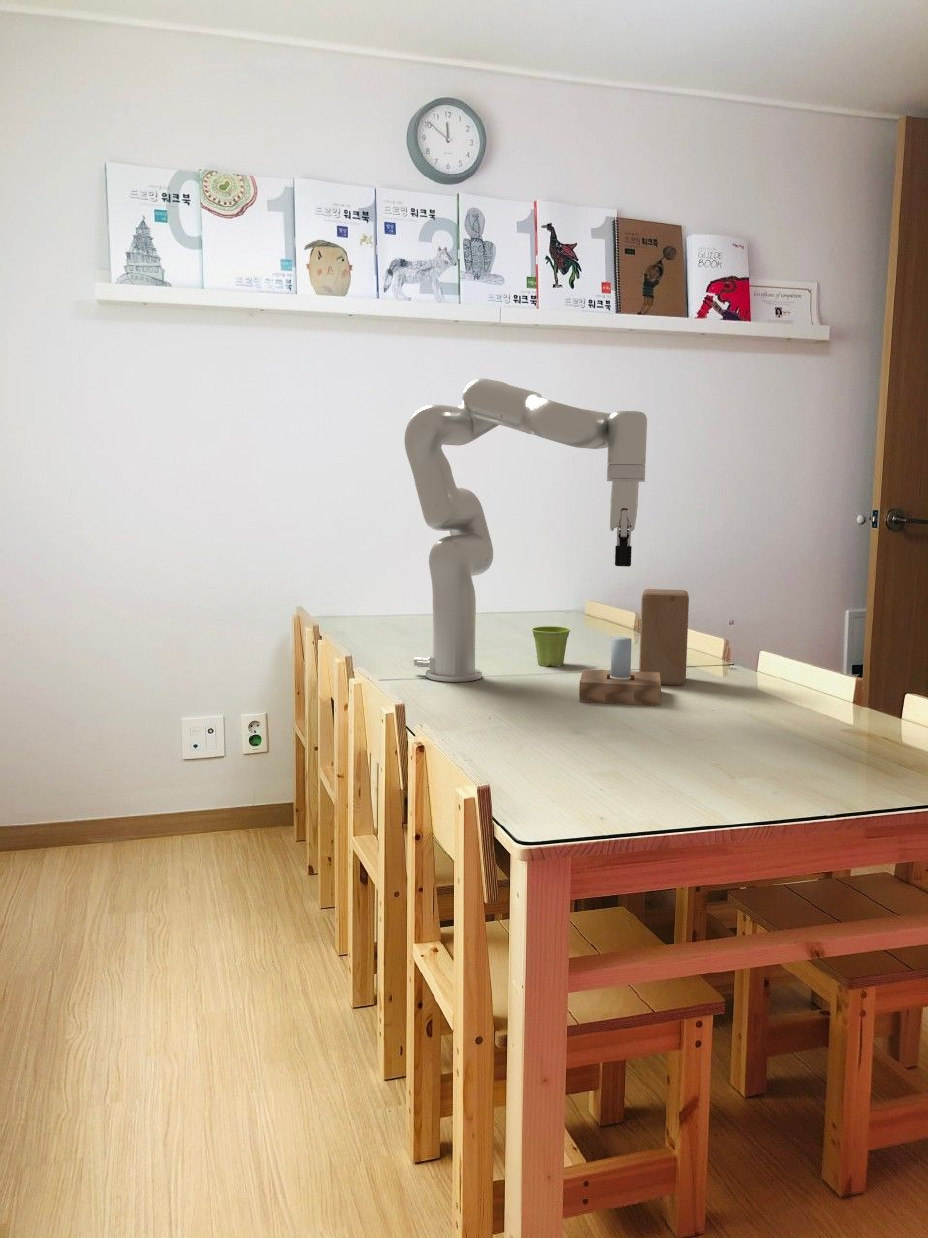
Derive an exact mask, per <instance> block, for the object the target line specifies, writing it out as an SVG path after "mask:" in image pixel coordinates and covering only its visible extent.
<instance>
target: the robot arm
mask: <svg viewBox="0 0 928 1238" xmlns="http://www.w3.org/2000/svg"><path fill="white" fill-rule="evenodd" d="M461 398H462V400H461V401H462V404H461V405H459V406H452V405H444V404H430V405H426V406H422V407H421V408H420V409H418V410H416V411H415V412H414V414H413V415H412V416H411V418H410V419H409V421H408V423H407V424H406V427H405V428H406V429H405V430H404V431H405V432H404V439H403V440H404V441H403V442H404V450H405V453H406V456H407V459H408V463H409V465H410V469H411V472H412V476H413V480H414V485H415V488H416V492H417V496H418V500H419V504H420V507H421V512H422V515H423V519H424V521H425V523H426V524H427V526H428V527H429V528H430V529H432V530H434V531H438V532H446V531H447V532H448V531H449V534H450V535H448V536H444V537H441V538H440V539H438V540H437V541H436V542H435V543H434V544H433V546H432V548H431V549H430V552H429V556H428V565H429V566H428V567H429V572H430V573H429V574H430V578H431V586H432V589H431V590H432V655H431V656H428V657H427V658H424V657H414V659H413V665H414V667H417V668H427V670H426V671H425V678H427V679H429V680H433V681H438V682H446V683H447V682H449V683H450V682H451V683H460V682H470V681H471V682H473V681H476V680H480V679H482V677H483V671H481V670H480V669H478V668H476V621H477V620H476V618H477V617H476V609H477V608H476V603H477V602H476V599H477V598H476V589H475V585H474V583H473V578H472V577H474V576H479V575H482V574H484V573H485V572H486V571H488V570H489V569H490V567H491V565H492V563H493V560H494V548H493V544H492V540H491V535H490V531H489V528H488V524H487V519H486V516H485V513H484V509H483V507H482V503H481V501H480V499H479V498H478V497H477V495H476V494H475V493H473V492H472V491H471V490H469V489H467V488H464V487H458V486H456V483H455V480H454V476H453V471H452V467H451V464H450V462H449V461H448V460H449V459H448V458H447V456H446V455H445V453H444V451H443V449H442V447H443V445H444V446H456V447H457V446H463V445H464V446H465V445H467V444H470V443H471V442H473V441H475V440H477V439H479V438H480V437H481V436H483V435H485V434H487V433H489V432H490V431H492V430H493V429H495V428H497V427H498V426H502V427H506V428H509V429H513V430H516V431H519V432H521V433H526V434H527V435H533V436H536V437H539V438H542V439H546V440H549V441H552V442H555V443H558V444H563V445H565V446H569V447H573V448H578V449H589V450H600V449H601V450H602V449H607V471H606V482H611V491H610V510H609V511H610V515H609V517H610V518H609V530H610V531H611V532H613V531H614V529H616V545H615V550H614V553H615V554H614V566H615V567H626V568H627V567H631V565H632V547H633V546H632V545H631V542H632V541H631V540H632V539H631V538H632V536H631V535H632V532H634V530H635V528H636V522H637V516H638V506H639V505H638V503H639V487H640V485H639V484H640V483H641V482H643V483H645V482H646V464H647V463H646V460H647V437H648V436H647V434H648V433H647V432H648V417H647V415H646V414H645V412H642V411H637V410H620V411H619V410H617V411H614V412H612V413H608V412H602V411H597V410H590V409H584V408H580V407H575V406H571V405H568V404H564V403H561V402H557V401H553V400H550V399H548V398H544V397H543V396H542V394H541V393H540V392H536V391H533V390H529V389H525V388H522V387H517V386H514V385H510V384H508V383H505V382H503V381H500V380H494V379H490V378H476V379H474V380H472V381H470V382H469V383H468V384H467V385H466V386H465V387H464V389H463V392H462V396H461ZM639 482H640V483H639Z"/></svg>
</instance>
